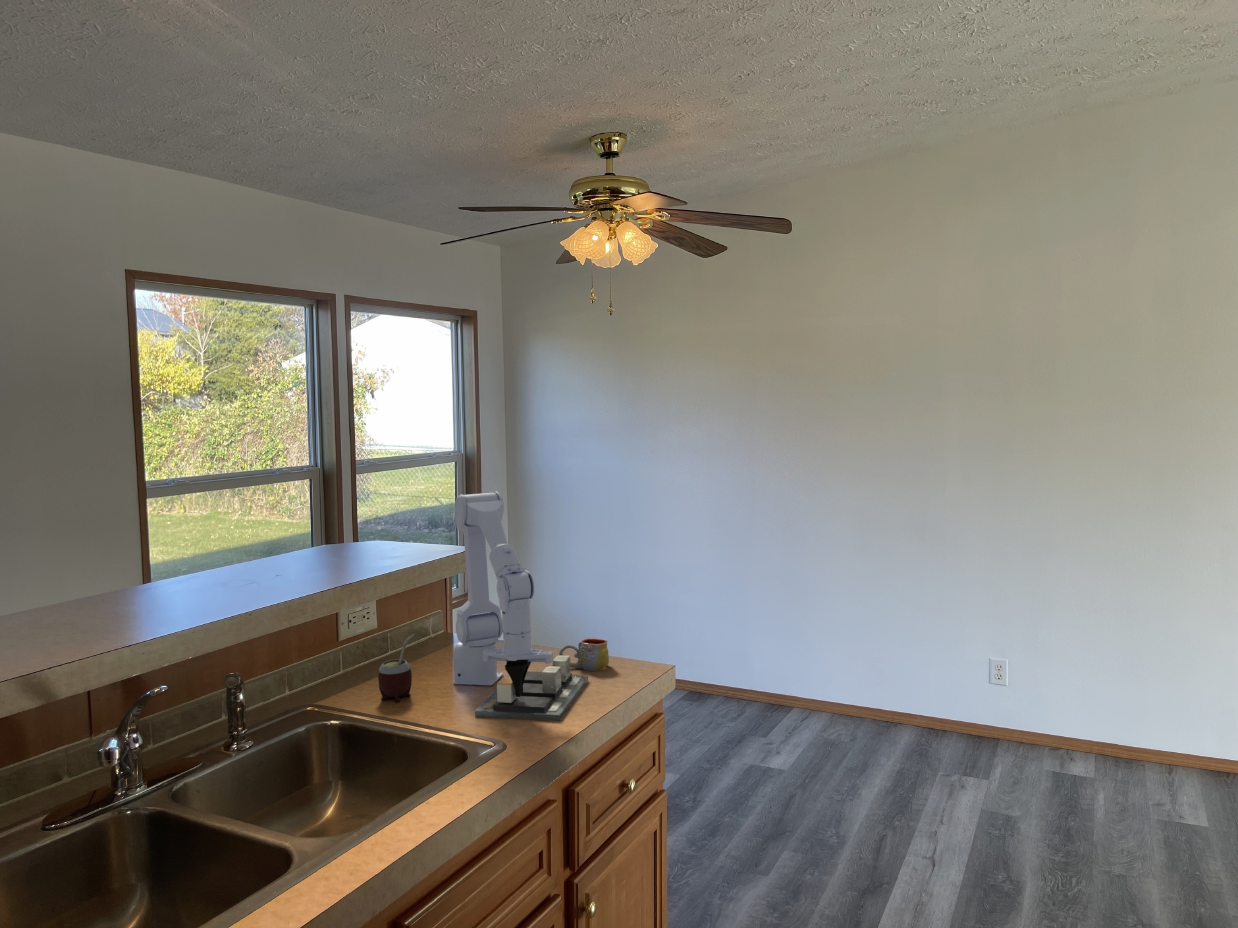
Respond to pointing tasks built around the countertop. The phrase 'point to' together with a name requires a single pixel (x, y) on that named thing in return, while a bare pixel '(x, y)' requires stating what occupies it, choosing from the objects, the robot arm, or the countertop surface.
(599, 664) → the mug
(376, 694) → the countertop surface
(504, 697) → the block
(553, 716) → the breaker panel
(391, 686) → the mate gourd
